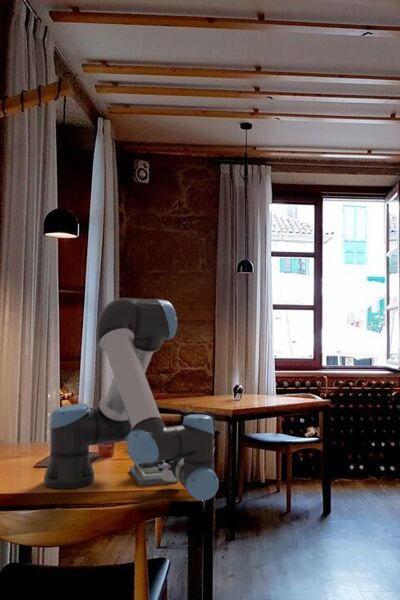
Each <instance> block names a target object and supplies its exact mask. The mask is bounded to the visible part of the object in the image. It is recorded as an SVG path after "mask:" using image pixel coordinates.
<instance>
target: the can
mask: <svg viewBox="0 0 400 600" xmlns="http://www.w3.org/2000/svg"><path fill="white" fill-rule="evenodd" d="M162 479H163V480H164V481H166V482H177V483H180V482H179V481H178V480H177V479H176V478H175V476H174V475H173V473H172V471H171V470H169V469H168V468H165V470H163V471H162Z"/></svg>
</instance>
